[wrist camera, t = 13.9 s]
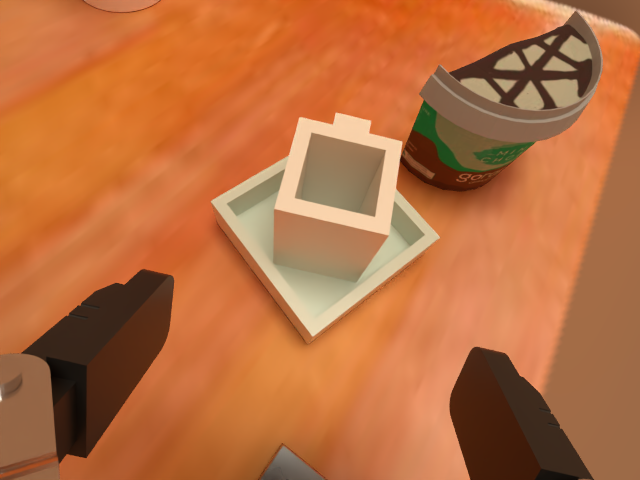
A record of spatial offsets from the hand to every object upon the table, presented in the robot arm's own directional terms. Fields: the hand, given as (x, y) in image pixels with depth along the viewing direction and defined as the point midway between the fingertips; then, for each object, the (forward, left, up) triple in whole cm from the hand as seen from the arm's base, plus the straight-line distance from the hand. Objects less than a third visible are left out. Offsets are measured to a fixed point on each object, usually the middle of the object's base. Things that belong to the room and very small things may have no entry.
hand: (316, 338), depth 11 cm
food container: (-4, +21, -15) cm, 26 cm away
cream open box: (-6, +7, -14) cm, 17 cm away
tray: (-6, +7, -15) cm, 18 cm away
